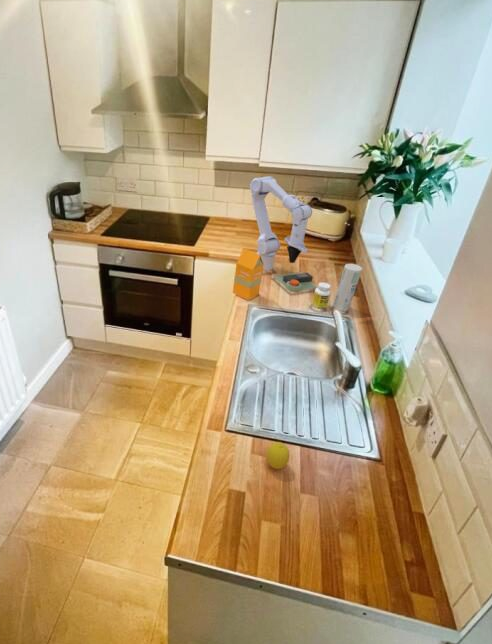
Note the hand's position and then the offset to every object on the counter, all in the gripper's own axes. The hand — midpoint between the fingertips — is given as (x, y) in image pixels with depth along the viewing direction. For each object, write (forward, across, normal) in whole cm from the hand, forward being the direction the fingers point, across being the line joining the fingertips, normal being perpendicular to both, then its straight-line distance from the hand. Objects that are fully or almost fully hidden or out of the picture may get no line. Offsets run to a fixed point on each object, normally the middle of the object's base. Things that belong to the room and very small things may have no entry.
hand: (292, 262), depth 181 cm
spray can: (+11, -28, -8) cm, 31 cm away
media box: (+10, -2, -2) cm, 11 cm away
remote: (+9, -2, -4) cm, 10 cm away
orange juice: (+11, -4, +24) cm, 27 cm away
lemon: (+12, -86, +59) cm, 105 cm away
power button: (+7, -8, +2) cm, 11 cm away
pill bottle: (+11, -24, 0) cm, 26 cm away
